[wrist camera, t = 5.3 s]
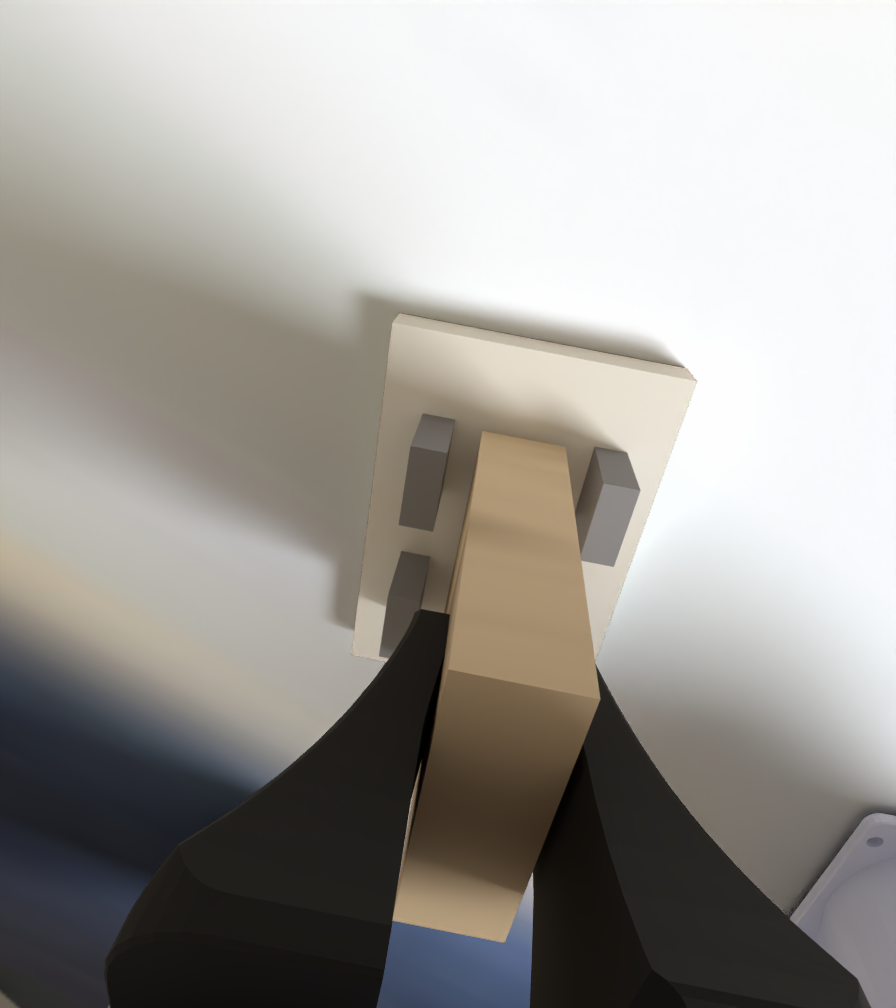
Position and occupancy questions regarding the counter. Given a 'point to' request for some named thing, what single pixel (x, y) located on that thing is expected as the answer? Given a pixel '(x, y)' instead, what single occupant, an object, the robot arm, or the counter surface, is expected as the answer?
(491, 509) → the wooden block
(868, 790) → the counter surface
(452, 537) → the cream pegged base plate
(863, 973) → the robot arm
